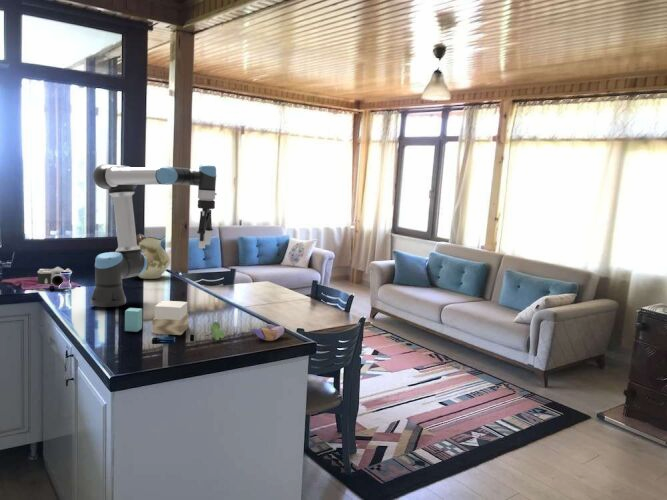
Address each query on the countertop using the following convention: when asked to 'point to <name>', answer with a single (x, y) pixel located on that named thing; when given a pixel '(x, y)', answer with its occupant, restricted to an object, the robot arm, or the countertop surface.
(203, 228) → the robot arm
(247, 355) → the countertop surface
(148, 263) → the pitcher
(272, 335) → the toy
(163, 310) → the tower top
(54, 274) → the camera
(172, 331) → the tower bottom
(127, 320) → the teal block
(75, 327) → the countertop surface
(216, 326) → the seedling
